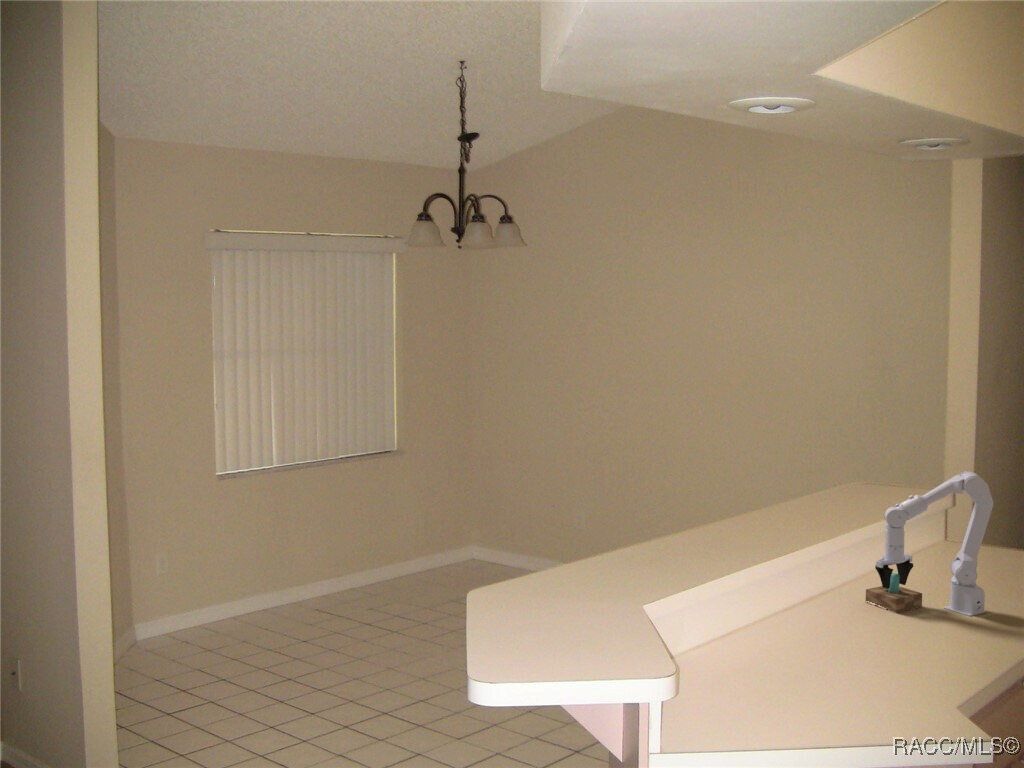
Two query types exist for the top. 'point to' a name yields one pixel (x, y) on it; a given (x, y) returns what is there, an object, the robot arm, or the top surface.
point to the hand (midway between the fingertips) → (894, 586)
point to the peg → (894, 584)
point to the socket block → (894, 598)
